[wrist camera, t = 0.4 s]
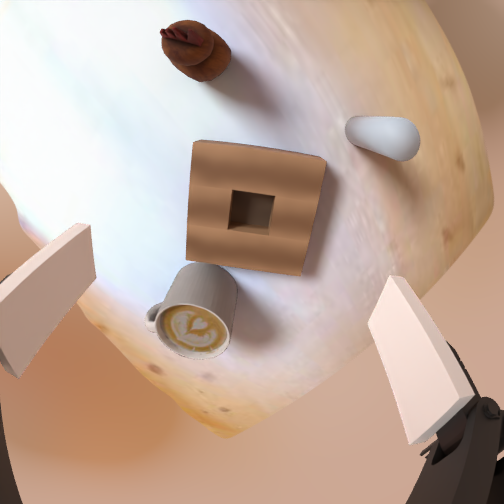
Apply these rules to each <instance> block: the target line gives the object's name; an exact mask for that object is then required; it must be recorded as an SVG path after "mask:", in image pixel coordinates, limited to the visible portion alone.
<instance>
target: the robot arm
mask: <svg viewBox="0 0 504 504" xmlns="http://www.w3.org/2000/svg"><path fill="white" fill-rule="evenodd" d="M95 279H96V272H95V265H94V257H93V248H92V239H91V227H90V225H88V224H82V223H76V224H75V225H73V226H72V227H71V228H69V229H68V230H66V231H65V232H64V233H62V234H61V235H60V236H58V237H57V238H56V239H54V240H53V241H52V242H50V243H49V244H48V245H46V246H45V247H44V248H42V249H41V250H40V251H39V252H37V253H36V254H35V255H34V256H32V257H31V258H30V259H29V260H27V261H26V262H25V263H24V264H23V265H22V266H20V267H19V268H18V269H17V270H16V271H14V272H13V273H11V274H10V275H8V276H6V277H5V278H4V279H3V280H2V281H1V282H0V362H1V364H2V366H3V367H4V369H5V371H7V372H8V373H10V374H12V375H13V376H15V377H16V378H18V379H19V378H20V377H21V375H22V374H23V372H24V371H25V369H26V368H27V366H28V365H29V363H30V362H31V360H32V359H33V358H34V356H35V354H36V353H37V352H38V350H39V349H40V348H41V346H42V345H43V344H44V342H45V341H46V340H47V338H48V337H49V335H50V334H51V333H52V332H53V330H54V329H55V328H56V326H57V325H58V324H59V323H60V321H61V320H62V319H63V317H64V316H65V315H66V314H67V312H68V311H69V309H71V307H72V306H73V305H74V304H75V303H76V301H77V300H78V299H79V298H80V297H81V295H82V294H83V293H84V292H85V291H86V290H87V288H88V287H89V286H90V285H91V284H92V283H93V281H94V280H95ZM367 324H368V326H369V329H370V331H371V334H372V336H373V339H374V341H375V344H376V347H377V349H378V352H379V355H380V357H381V360H382V363H383V365H384V368H385V371H386V374H387V376H388V379H389V382H390V385H391V388H392V391H393V394H394V397H395V400H396V403H397V405H398V409H399V412H400V416H401V419H402V422H403V425H404V429H405V432H406V435H407V439H408V443H409V445H412V444H417V443H422V442H426V441H427V440H428V439H429V438H430V437H432V436H433V435H434V434H435V433H436V434H437V437H438V439H437V440H436V441H434V442H433V443H432V444H431V445H430V446H428V447H427V448H426V449H424V450H423V451H422V452H421V454H420V455H421V456H423V455H424V454H425V453H427V452H428V451H429V450H430V452H429V454H428V455H427V456H426V457H425V458H426V459H427V460H426V463H425V464H424V467H423V469H422V471H421V474H420V476H419V478H418V480H417V482H416V484H415V486H414V488H413V491H412V493H411V495H410V497H409V498H408V500H407V502H406V504H504V457H503V458H501V459H500V460H498V461H497V455H498V454H499V453H500V452H502V451H503V450H504V410H500V407H499V406H498V404H497V403H496V402H495V401H494V400H493V399H491V398H488V397H482V398H481V397H480V395H479V393H478V391H477V389H476V387H475V385H474V383H473V381H472V379H471V378H470V375H469V374H468V372H467V370H466V369H465V366H464V365H463V363H462V361H460V358H459V356H458V354H457V352H456V351H455V349H454V348H453V347H452V346H451V345H450V344H449V343H448V342H447V341H445V339H444V337H443V336H442V334H441V333H440V331H439V329H438V327H437V326H436V324H435V323H434V321H433V320H432V318H431V316H430V315H429V314H428V312H427V310H426V309H425V307H424V306H423V304H422V303H421V301H420V300H419V298H418V297H417V296H416V294H415V293H414V291H413V290H412V288H411V287H410V285H409V284H408V283H407V281H406V280H405V278H404V277H400V276H394V275H389V278H388V280H387V282H386V285H385V287H384V289H383V291H382V294H381V296H380V298H379V300H378V302H377V304H376V307H375V309H374V311H373V313H372V315H371V317H370V319H369V321H368V323H367ZM0 504H23V503H22V501H21V498H20V495H19V492H18V489H17V485H16V482H15V479H14V475H13V472H12V468H11V464H10V459H9V456H8V450H7V446H6V440H5V435H4V429H3V422H2V414H1V405H0Z"/></svg>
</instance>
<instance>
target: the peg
mask: <svg viewBox="0 0 504 504" xmlns="http://www.w3.org/2000/svg"><path fill="white" fill-rule="evenodd" d="M345 133H346V137H347V138H348V140H349V141H350V142H351V143H352V144H354V145H356V146H359V147H362V148H365V149H368V150H371V151H373V152H376V153H379V154H381V155H384V156H387V157H389V158H392V159H394V160H397V161H408V160H410V159H412V158H413V157H414V156H415V155H416V154H417V152H418V150H419V146H420V135H419V132H418V130H417V128H416V126H415V125H414V124H413V123H412V122H411V121H410V120H408V119H406V118H401V117H383V116H355V117H352V118H351V119H350V120H349V121H348V122H347V124H346V127H345Z"/></svg>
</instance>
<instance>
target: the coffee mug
mask: <svg viewBox="0 0 504 504" xmlns="http://www.w3.org/2000/svg"><path fill="white" fill-rule="evenodd" d="M236 299H237V286H236V283H235V281H234V279H233V278H232V276H231V275H230V274H229V273H228V272H227V271H226V270H225V269H223V268H221V267H220V266H218V265H215V264H209V263H203V262H195V263H191V264H188V265H187V266H185V267H183V268H182V269H181V270H180V271H179V272H178V274H177V276H176V278H175V279H174V281H173V283H172V285H171V287H170V289H169V291H168V293H167V295H166V297H165V299H164V301H163V302H162V303H159V304H156V305H154V306H153V307H152V308H151V309H150V310H149V311H148V312H147V314H146V316H145V320H144V323H145V326H146V328H147V330H148V331H150V332H153V333H157V336H158V337H159V339H160V340H161V342H162V343H163V344H164V345H165V346H166V347H167V348H169V349H170V350H171V351H173V352H175V353H176V354H178V355H181V356H183V357H187V358H190V359H198V360H204V359H210V358H214V357H217V356H218V355H220V354H222V353H223V352H224V351H225V350H226V349H227V347H228V345H229V343H230V338H231V332H232V325H233V319H234V312H235V306H236Z"/></svg>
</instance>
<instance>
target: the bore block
mask: <svg viewBox="0 0 504 504" xmlns="http://www.w3.org/2000/svg"><path fill="white" fill-rule="evenodd" d="M326 163H327V161H325V160H324V159H322V158H321V157H318V156H313V155H308V154H303V153H298V152H292V151H286V150H280V149H274V148H268V147H261V146H254V145H246V144H238V143H230V142H221V141H211V140H198V141H195V142H193V149H192V159H191V171H190V185H189V199H188V217H187V240H186V260H189V261H196V262H203V263H209V264H216V265H223V266H230V267H237V268H243V269H250V270H258V271H265V272H272V273H279V274H286V275H294V276H301V272H302V268H303V264H304V260H305V256H306V252H307V248H308V244H309V240H310V236H311V232H312V227H313V223H314V219H315V214H316V210H317V206H318V201H319V197H320V192H321V187H322V182H323V178H324V173H325V168H326Z"/></svg>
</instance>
